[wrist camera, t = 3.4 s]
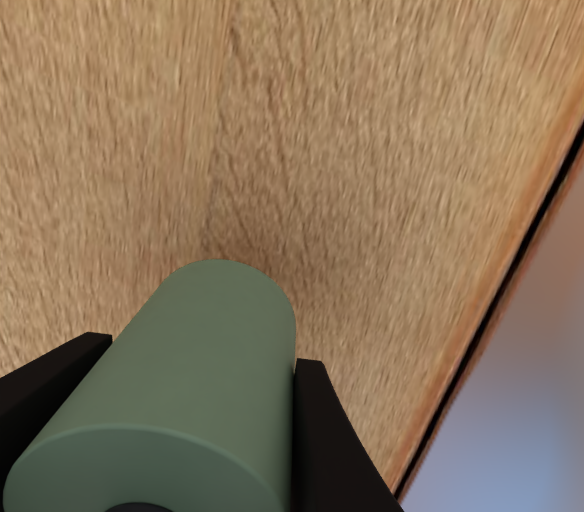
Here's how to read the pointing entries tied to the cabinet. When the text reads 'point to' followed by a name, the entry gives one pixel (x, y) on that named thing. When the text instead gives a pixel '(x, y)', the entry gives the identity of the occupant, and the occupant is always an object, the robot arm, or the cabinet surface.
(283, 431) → the sanitizer bottle
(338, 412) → the robot arm
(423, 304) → the cabinet surface
